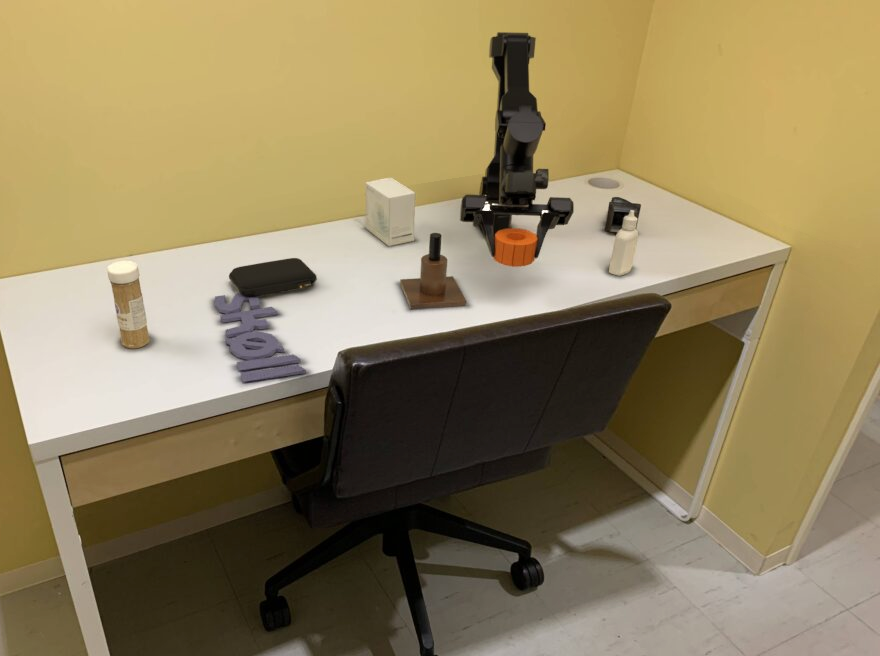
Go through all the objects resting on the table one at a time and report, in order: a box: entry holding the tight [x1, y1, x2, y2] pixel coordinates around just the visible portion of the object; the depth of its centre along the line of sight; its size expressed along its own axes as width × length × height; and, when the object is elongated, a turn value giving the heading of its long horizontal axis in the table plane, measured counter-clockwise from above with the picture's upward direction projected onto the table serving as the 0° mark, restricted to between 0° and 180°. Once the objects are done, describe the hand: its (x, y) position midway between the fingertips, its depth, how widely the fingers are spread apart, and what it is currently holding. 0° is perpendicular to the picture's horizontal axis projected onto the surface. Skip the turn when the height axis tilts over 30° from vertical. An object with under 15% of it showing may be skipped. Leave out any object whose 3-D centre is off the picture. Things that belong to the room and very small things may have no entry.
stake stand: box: [399, 232, 467, 310], centre depth 135 cm, size 10×10×12 cm
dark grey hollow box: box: [604, 196, 642, 233], centre depth 164 cm, size 6×13×6 cm, turn 170°
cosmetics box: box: [365, 176, 417, 247], centre depth 158 cm, size 10×6×10 cm, turn 27°
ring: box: [492, 227, 538, 268], centre depth 131 cm, size 7×7×4 cm
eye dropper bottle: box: [608, 210, 639, 277], centre depth 144 cm, size 4×6×12 cm
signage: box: [214, 292, 307, 383], centre depth 125 cm, size 28×1×10 cm
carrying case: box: [228, 257, 318, 298], centre depth 139 cm, size 11×3×15 cm
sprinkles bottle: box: [106, 260, 151, 349], centre depth 119 cm, size 5×5×14 cm
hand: (514, 256), depth 130 cm, fingers closed on ring, 7 cm apart
